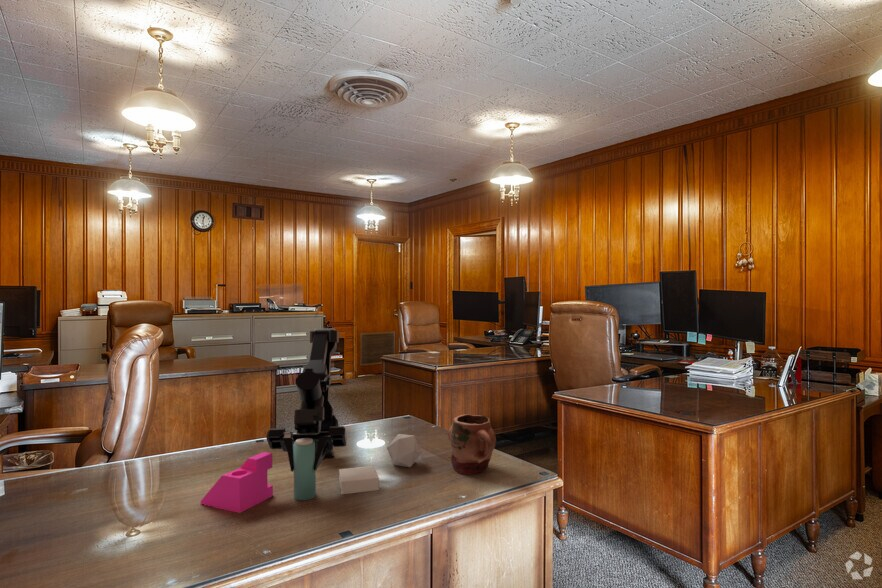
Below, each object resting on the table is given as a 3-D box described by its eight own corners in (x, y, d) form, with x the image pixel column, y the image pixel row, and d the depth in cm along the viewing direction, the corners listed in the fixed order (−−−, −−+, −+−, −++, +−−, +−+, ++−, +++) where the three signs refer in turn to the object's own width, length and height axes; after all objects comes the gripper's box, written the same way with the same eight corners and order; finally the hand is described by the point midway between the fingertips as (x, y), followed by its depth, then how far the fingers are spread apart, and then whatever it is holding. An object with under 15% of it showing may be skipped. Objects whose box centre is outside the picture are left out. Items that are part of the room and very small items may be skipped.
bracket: (272, 496, 120) (272, 453, 120) (239, 513, 111) (239, 466, 111) (235, 488, 125) (234, 447, 125) (200, 504, 116) (200, 460, 116)
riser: (339, 480, 129) (339, 469, 129) (374, 477, 132) (374, 465, 132) (341, 494, 121) (341, 481, 121) (379, 490, 123) (378, 477, 123)
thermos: (294, 493, 122) (293, 438, 122) (315, 490, 123) (314, 436, 123) (293, 501, 117) (293, 444, 117) (315, 498, 118) (315, 442, 118)
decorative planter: (514, 477, 130) (513, 423, 130) (474, 486, 124) (473, 430, 124) (472, 456, 148) (472, 408, 148) (436, 463, 142) (435, 414, 142)
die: (426, 464, 143) (414, 431, 148) (422, 457, 135) (410, 423, 140) (398, 476, 142) (387, 443, 147) (393, 470, 135) (381, 435, 139)
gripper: (267, 395, 123) (255, 455, 112) (345, 393, 125) (340, 452, 114) (275, 420, 131) (265, 477, 120) (348, 417, 132) (344, 474, 121)
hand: (303, 470), depth 118 cm, fingers closed on thermos, 5 cm apart
